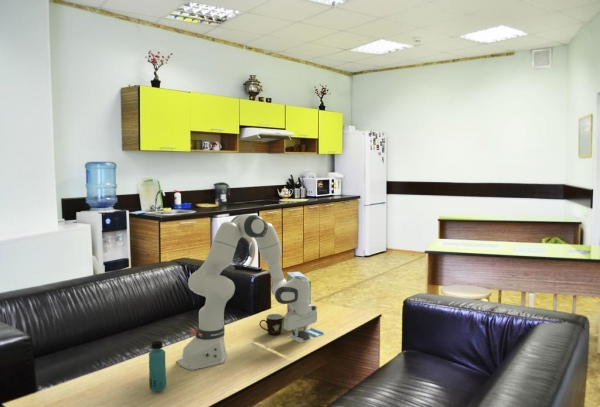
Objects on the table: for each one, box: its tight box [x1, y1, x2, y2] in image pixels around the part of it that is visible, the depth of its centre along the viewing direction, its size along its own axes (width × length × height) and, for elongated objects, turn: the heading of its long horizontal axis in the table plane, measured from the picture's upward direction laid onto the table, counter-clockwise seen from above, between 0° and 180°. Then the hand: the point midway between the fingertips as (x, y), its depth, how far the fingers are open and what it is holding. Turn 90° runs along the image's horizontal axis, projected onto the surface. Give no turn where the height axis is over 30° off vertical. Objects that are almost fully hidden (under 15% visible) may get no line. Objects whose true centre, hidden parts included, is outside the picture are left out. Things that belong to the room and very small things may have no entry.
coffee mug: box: [259, 313, 284, 337], centre depth 244 cm, size 12×9×10 cm
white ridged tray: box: [287, 327, 327, 343], centre depth 242 cm, size 18×10×2 cm, turn 132°
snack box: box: [286, 271, 312, 313], centre depth 266 cm, size 22×9×26 cm, turn 17°
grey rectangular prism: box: [291, 328, 309, 342], centre depth 239 cm, size 3×9×3 cm, turn 42°
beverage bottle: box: [148, 340, 167, 392], centre depth 183 cm, size 6×7×20 cm
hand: (300, 334), depth 239 cm, fingers closed on grey rectangular prism, 3 cm apart
